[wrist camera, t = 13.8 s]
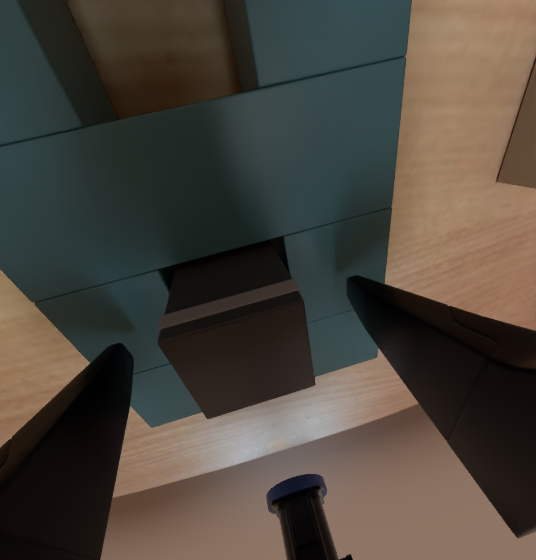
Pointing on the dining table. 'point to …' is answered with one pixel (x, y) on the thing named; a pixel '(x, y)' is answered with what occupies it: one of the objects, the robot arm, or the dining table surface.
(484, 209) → the dining table surface
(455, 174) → the dining table surface
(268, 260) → the block
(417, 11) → the dining table surface
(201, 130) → the teal three-hole plate
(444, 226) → the dining table surface
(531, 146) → the electrical outlet
